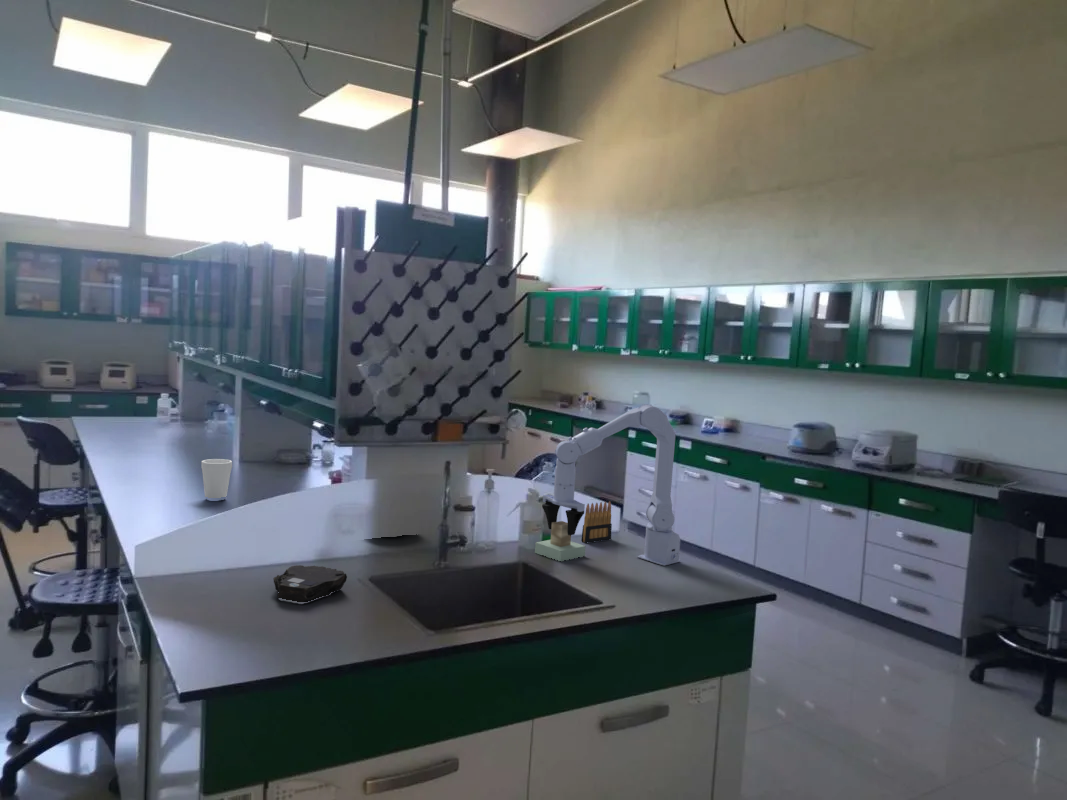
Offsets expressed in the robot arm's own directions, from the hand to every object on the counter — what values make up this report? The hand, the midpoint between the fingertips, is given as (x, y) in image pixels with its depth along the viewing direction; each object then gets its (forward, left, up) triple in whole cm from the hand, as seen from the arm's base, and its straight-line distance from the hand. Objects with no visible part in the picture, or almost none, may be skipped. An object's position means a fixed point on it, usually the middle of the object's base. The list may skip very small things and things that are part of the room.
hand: (561, 531), depth 215 cm
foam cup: (+108, +55, -7) cm, 121 cm away
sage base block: (0, 0, -7) cm, 7 cm away
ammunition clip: (+5, -21, -7) cm, 23 cm away
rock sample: (+8, +72, -7) cm, 73 cm away
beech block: (0, 0, -4) cm, 4 cm away
